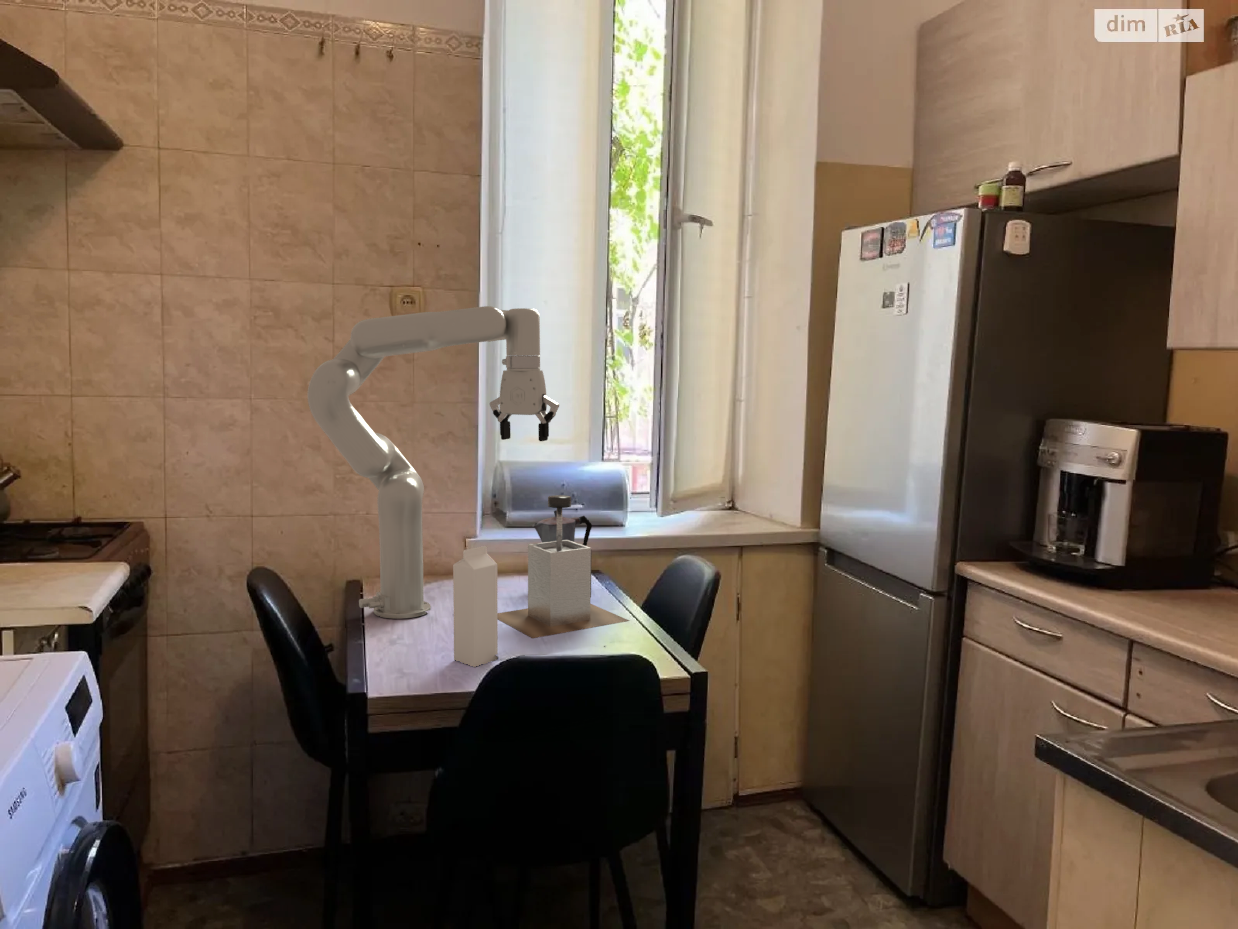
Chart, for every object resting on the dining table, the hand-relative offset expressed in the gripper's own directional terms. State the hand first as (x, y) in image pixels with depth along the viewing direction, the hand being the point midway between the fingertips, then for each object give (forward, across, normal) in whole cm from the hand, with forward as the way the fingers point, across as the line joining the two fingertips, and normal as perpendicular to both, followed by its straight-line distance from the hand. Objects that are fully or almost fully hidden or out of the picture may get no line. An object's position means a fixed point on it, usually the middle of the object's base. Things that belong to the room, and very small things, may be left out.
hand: (524, 439), depth 208 cm
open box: (+38, +13, -6) cm, 41 cm away
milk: (+39, +9, -36) cm, 54 cm away
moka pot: (+40, -1, +20) cm, 45 cm away
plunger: (+24, +12, -7) cm, 28 cm away
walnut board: (+39, +12, -7) cm, 42 cm away
